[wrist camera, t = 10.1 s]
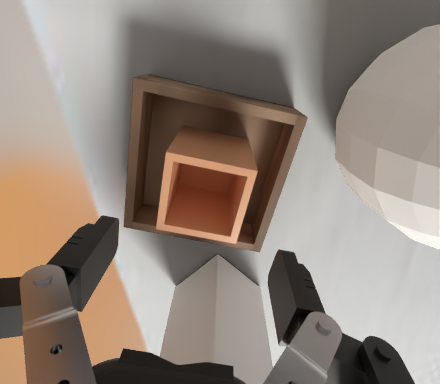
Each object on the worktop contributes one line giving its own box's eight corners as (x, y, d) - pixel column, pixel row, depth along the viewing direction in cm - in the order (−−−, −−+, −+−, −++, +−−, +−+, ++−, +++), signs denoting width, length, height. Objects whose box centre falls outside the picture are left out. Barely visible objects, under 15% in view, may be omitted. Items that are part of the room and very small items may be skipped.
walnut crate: (294, 108, 22) (307, 117, 18) (255, 226, 27) (259, 252, 24) (148, 74, 21) (133, 77, 17) (137, 204, 26) (123, 227, 23)
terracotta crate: (248, 139, 22) (257, 171, 16) (233, 197, 25) (235, 243, 19) (182, 125, 22) (166, 151, 16) (173, 185, 24) (156, 229, 18)
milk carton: (217, 252, 29) (206, 529, 12) (261, 287, 31) (304, 564, 14) (174, 285, 31) (113, 558, 14) (217, 316, 33) (210, 584, 16)
